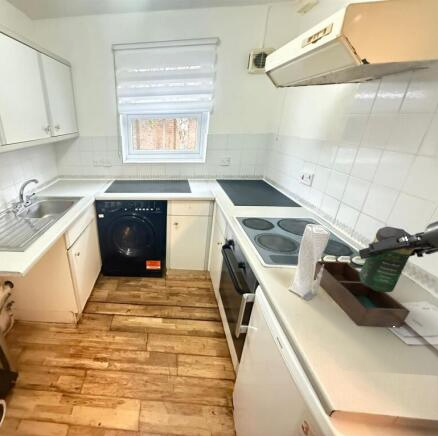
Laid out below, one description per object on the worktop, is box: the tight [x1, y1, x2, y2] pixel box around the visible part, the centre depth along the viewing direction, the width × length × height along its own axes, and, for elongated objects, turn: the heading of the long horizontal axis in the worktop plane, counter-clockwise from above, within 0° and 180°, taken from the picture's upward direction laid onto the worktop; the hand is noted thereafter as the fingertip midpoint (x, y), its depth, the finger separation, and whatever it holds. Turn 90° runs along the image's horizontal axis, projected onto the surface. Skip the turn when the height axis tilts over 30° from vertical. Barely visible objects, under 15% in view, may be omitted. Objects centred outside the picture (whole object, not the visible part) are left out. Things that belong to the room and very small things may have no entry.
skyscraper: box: [288, 223, 331, 302], centre depth 83 cm, size 8×8×28 cm
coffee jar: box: [359, 226, 414, 293], centre depth 72 cm, size 10×8×19 cm
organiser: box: [313, 260, 411, 328], centre depth 84 cm, size 13×26×7 cm, turn 176°
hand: (376, 255), depth 75 cm, fingers closed on coffee jar, 9 cm apart
